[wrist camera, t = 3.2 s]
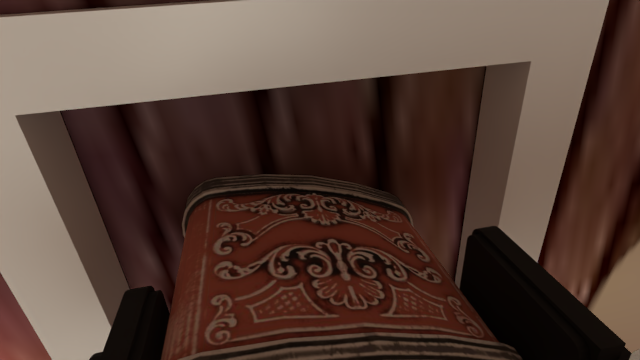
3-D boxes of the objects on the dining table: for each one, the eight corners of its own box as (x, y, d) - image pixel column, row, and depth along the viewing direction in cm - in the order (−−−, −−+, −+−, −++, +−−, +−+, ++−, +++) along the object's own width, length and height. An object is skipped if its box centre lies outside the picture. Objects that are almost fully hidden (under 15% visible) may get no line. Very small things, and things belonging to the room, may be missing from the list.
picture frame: (558, -24, 11) (616, -26, 10) (486, 314, 18) (513, 349, 16) (-71, 19, 9) (-146, 27, 7) (117, 393, 16) (102, 444, 14)
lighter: (182, 250, 13) (81, 760, 5) (187, 163, 12) (54, 657, 3) (390, 258, 15) (594, 613, 7) (415, 185, 14) (715, 514, 5)
